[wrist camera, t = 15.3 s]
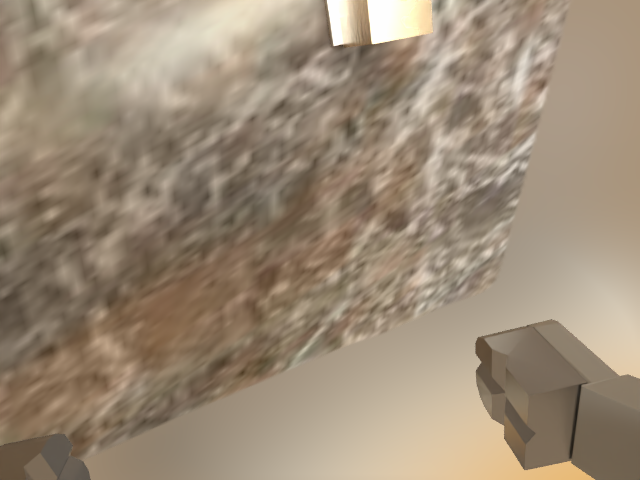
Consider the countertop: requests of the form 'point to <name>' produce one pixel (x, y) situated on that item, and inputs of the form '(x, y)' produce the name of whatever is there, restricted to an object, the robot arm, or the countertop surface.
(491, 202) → the countertop surface
